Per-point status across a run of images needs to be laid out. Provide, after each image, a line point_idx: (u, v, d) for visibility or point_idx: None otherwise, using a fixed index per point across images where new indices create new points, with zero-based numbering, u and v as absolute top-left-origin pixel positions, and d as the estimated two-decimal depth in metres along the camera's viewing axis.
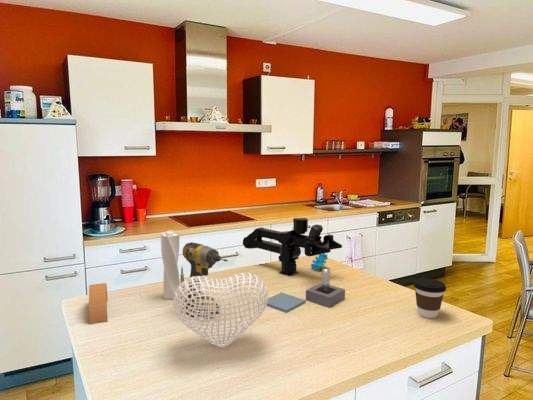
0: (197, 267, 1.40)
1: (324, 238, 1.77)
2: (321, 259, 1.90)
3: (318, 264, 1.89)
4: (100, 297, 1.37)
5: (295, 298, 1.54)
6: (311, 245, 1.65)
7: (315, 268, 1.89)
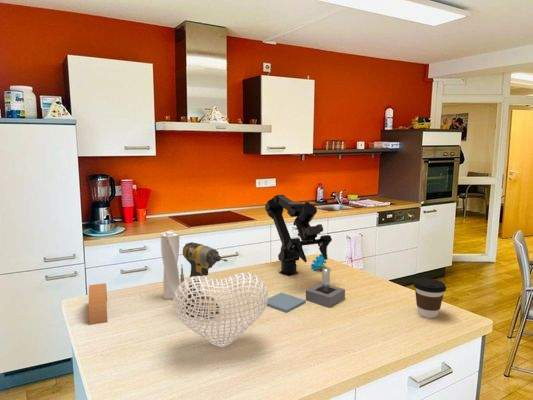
0: (197, 267, 1.40)
1: (321, 237, 1.66)
2: (321, 259, 1.90)
3: (318, 264, 1.89)
4: (100, 297, 1.37)
5: (295, 298, 1.54)
6: (294, 245, 1.60)
7: (315, 268, 1.89)
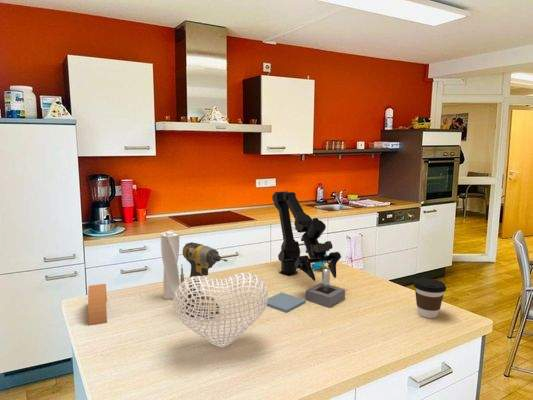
0: (197, 267, 1.40)
1: (330, 254, 1.60)
2: None
3: (318, 264, 1.89)
4: (99, 298, 1.36)
5: (295, 298, 1.54)
6: (302, 263, 1.54)
7: (315, 268, 1.89)
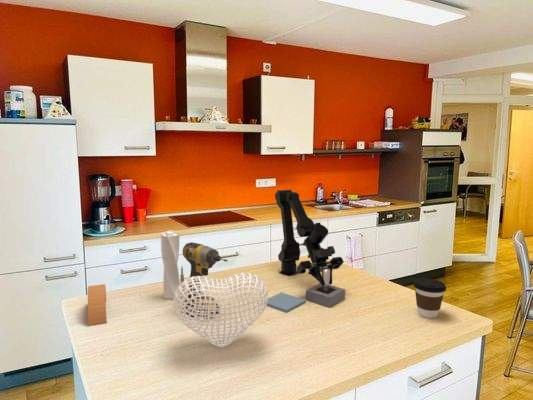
0: (197, 267, 1.40)
1: (332, 259, 1.59)
2: None
3: None
4: (99, 299, 1.36)
5: (295, 298, 1.54)
6: (311, 267, 1.54)
7: None
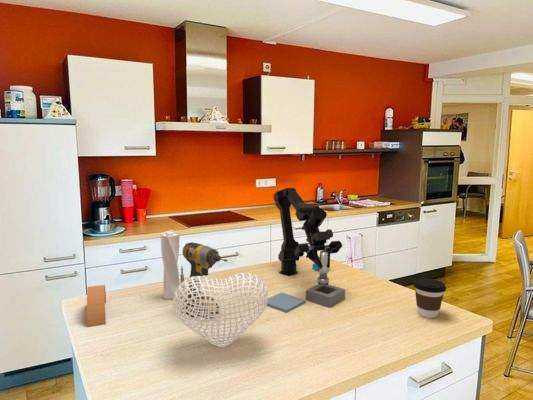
0: (197, 267, 1.40)
1: (331, 243, 1.57)
2: None
3: None
4: (98, 299, 1.35)
5: (295, 298, 1.54)
6: (309, 250, 1.52)
7: (316, 268, 1.89)
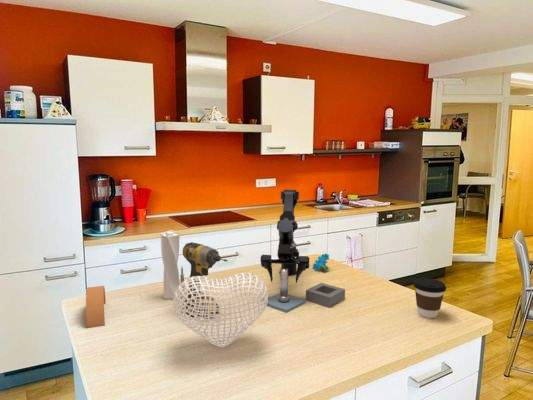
0: (197, 267, 1.40)
1: (299, 257, 1.52)
2: (323, 259, 1.90)
3: (319, 264, 1.89)
4: (97, 300, 1.34)
5: (295, 298, 1.54)
6: None
7: (316, 268, 1.89)
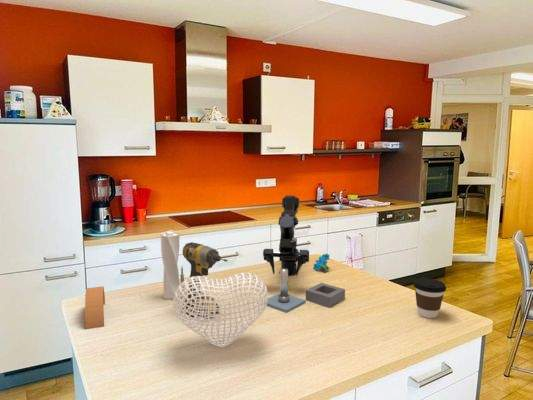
0: (197, 267, 1.40)
1: None
2: (323, 259, 1.90)
3: (320, 264, 1.89)
4: (97, 301, 1.34)
5: (295, 298, 1.54)
6: None
7: (316, 268, 1.89)
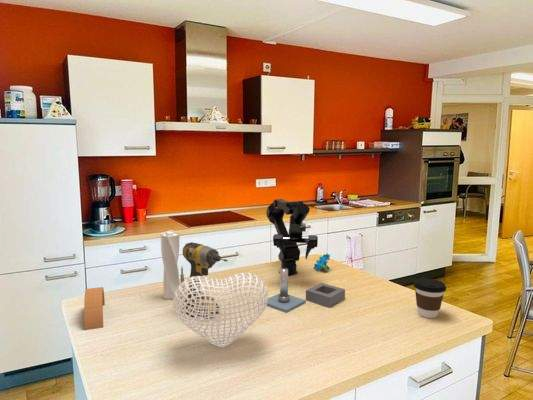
0: (197, 267, 1.40)
1: (308, 236, 1.67)
2: (323, 259, 1.90)
3: (320, 264, 1.89)
4: (96, 302, 1.33)
5: (295, 298, 1.54)
6: None
7: (317, 268, 1.89)
